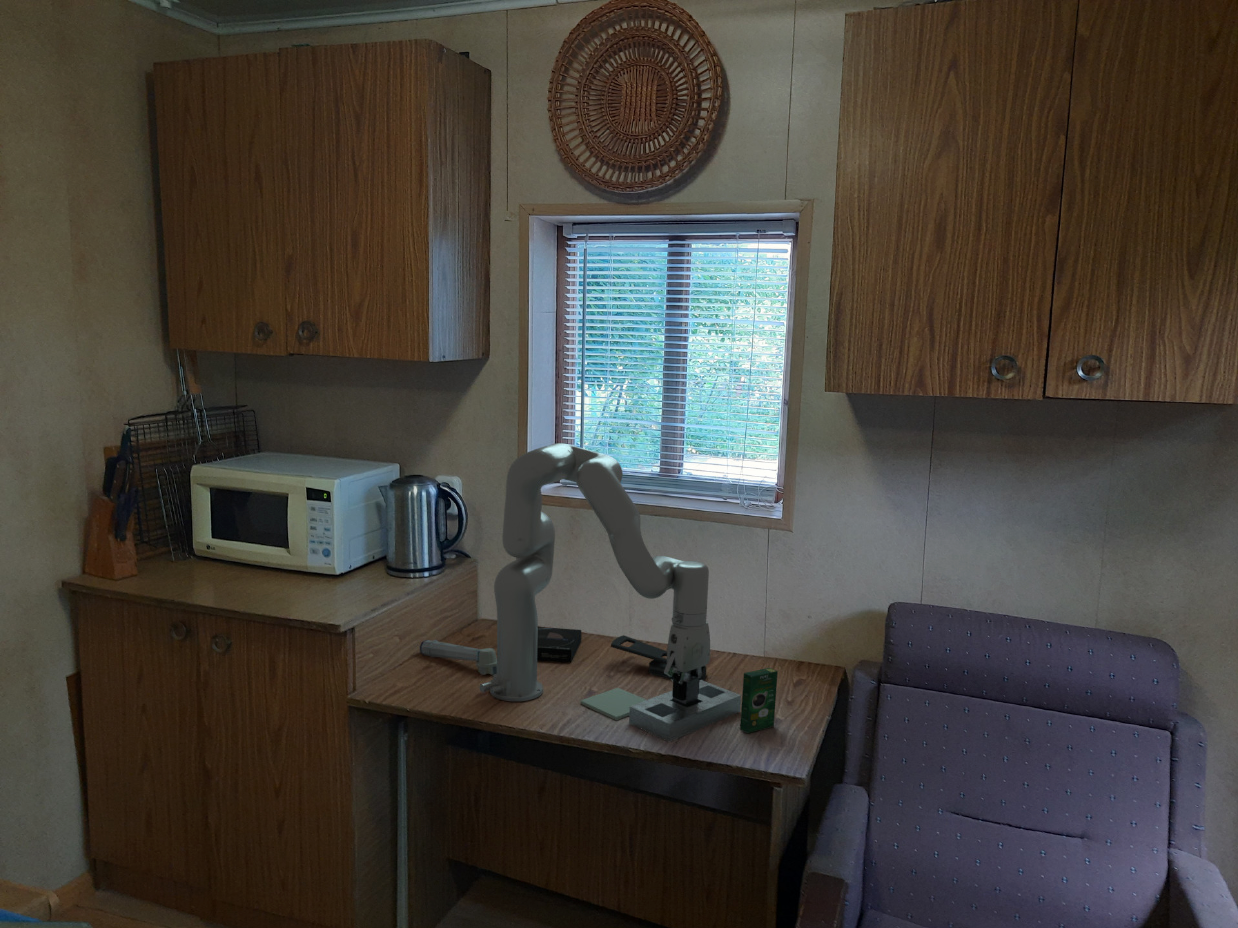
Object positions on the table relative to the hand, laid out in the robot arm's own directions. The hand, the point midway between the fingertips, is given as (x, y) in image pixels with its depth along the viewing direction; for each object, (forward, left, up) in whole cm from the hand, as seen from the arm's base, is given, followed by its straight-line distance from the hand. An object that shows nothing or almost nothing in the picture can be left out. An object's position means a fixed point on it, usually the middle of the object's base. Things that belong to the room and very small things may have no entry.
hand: (685, 695), depth 205 cm
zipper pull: (+16, +24, -6) cm, 29 cm away
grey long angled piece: (-20, +60, -6) cm, 63 cm away
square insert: (0, 0, -5) cm, 5 cm away
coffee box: (+8, -14, -5) cm, 17 cm away
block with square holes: (0, 0, -5) cm, 5 cm away
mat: (-7, +15, -5) cm, 17 cm away
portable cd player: (+4, +54, -6) cm, 54 cm away
